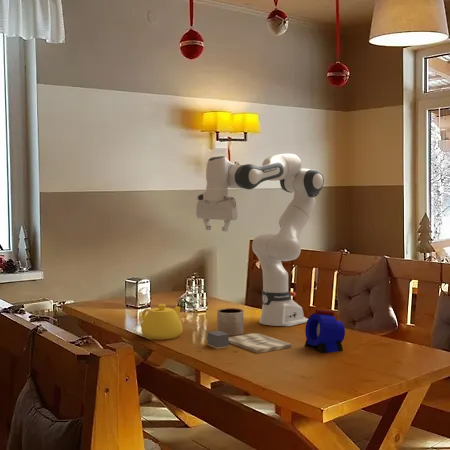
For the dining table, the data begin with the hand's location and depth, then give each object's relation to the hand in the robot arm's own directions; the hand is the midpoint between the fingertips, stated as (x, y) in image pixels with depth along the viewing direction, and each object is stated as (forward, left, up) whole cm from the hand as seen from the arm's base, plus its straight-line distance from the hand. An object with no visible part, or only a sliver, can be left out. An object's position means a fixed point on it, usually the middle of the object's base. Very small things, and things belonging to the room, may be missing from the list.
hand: (216, 230), depth 261 cm
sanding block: (+10, +17, -43) cm, 47 cm away
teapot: (+19, -11, -43) cm, 48 cm away
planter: (-5, +3, -43) cm, 43 cm away
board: (-4, +23, -42) cm, 48 cm away
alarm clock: (-22, +41, -43) cm, 63 cm away
